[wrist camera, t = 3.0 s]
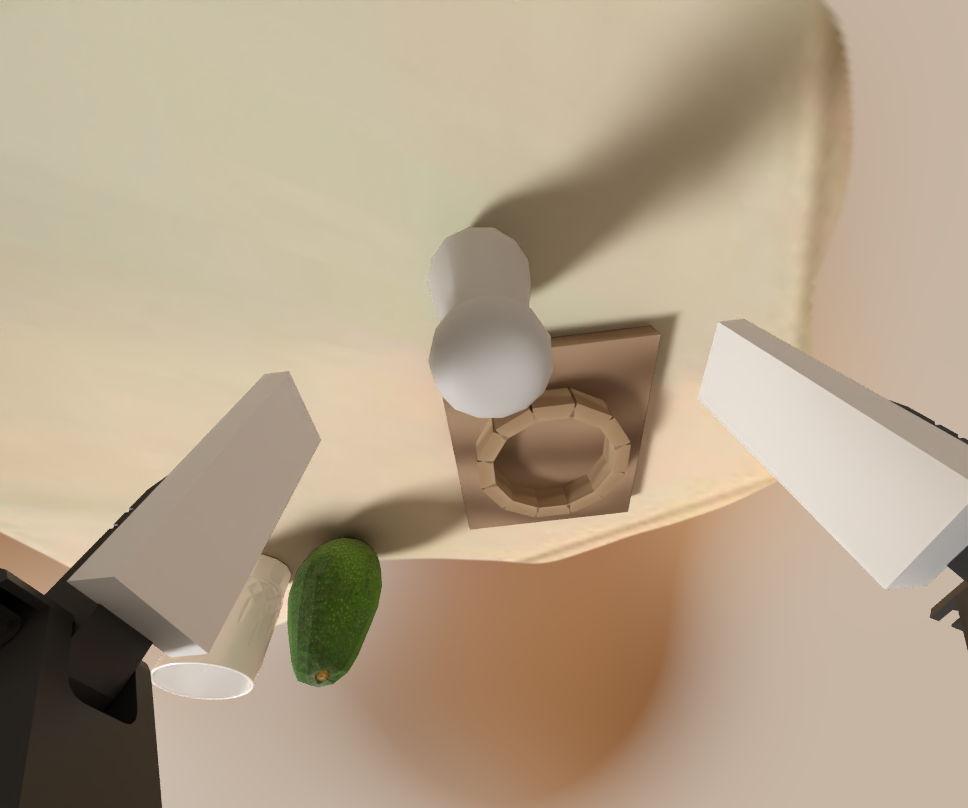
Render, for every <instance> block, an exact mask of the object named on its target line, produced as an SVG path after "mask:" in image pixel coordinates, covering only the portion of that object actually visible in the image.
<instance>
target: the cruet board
mask: <svg viewBox="0 0 968 808" xmlns="http://www.w3.org/2000/svg"><path fill="white" fill-rule="evenodd" d="M660 337H661V334H660V333H659V332H658V331H656V330H655V329H654V328H653V327H652V326H645V327H636V328H628V329H620V330H612V331H603V332H595V333H587V334H578V335H570V336H562V337H553V338H551V349H552V361H553V372H552V374H551V377H550V379H549V382H548V384H547V387H546V389H545V392H544V393H543V394H542V395H541V396H540V397H538V398H537V399H536V400H535V401H534V402H533V403H532V404H531V405H530V406H529V407H527V408H526V409H524V410H522V411H519V412H517V413H514V414H512V415H509V416H507V417H504V418H477V417H474V416H471V415H469V414H466V413H463V412H461V411H458V410H455V409H454V408H453V407H452V406H451V405H450V404H449V403H448V402H447V401H446V400H445V399H444V398H443V401H444V406H445V411H446V416H447V421H448V425H449V430H450V435H451V440H452V445H453V450H454V455H455V459H456V464H457V469H458V474H459V479H460V484H461V489H462V493H463V498H464V503H465V508H466V513H467V518H468V523H469V528H470V529H479V528H488V527H497V526H506V525H515V524H523V523H532V522H541V521H550V520H559V519H568V518H577V517H586V516H595V515H604V514H613V513H621V512H628V509H629V503H630V498H631V493H632V487H633V482H634V477H635V471H636V466H637V460H638V455H639V450H640V444H641V439H642V433H643V428H644V423H645V417H646V412H647V407H648V401H649V396H650V390H651V385H652V380H653V374H654V369H655V363H656V358H657V353H658V347H659V342H660Z"/></svg>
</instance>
